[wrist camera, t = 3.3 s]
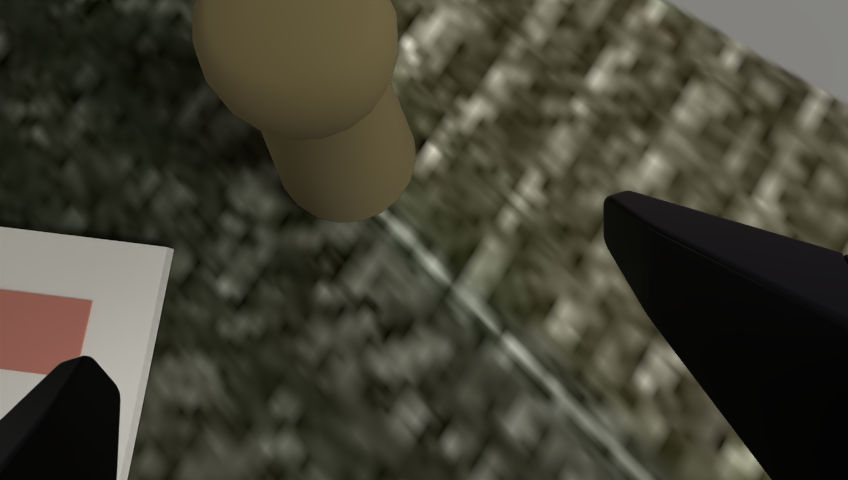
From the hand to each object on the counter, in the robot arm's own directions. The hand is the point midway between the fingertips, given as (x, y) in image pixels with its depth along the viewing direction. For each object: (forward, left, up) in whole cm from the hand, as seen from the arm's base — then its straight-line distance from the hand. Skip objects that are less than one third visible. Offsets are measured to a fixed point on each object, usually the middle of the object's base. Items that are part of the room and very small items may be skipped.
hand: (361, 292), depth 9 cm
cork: (+7, +3, -13) cm, 15 cm away
